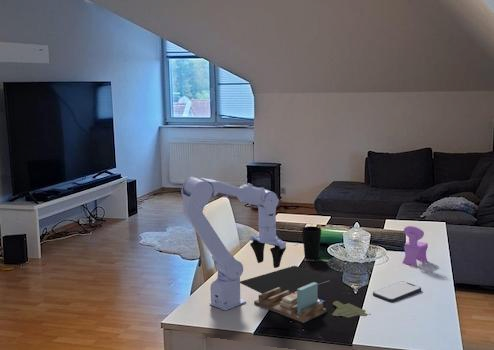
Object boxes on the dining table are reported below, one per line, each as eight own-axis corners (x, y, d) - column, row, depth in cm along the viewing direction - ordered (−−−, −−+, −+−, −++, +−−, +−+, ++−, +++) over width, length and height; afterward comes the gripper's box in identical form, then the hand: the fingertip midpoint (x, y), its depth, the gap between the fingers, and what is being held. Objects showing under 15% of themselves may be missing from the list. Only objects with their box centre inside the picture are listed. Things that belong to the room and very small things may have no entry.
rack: (303, 322, 173) (303, 313, 173) (254, 303, 188) (254, 295, 188) (326, 311, 181) (326, 302, 180) (277, 294, 196) (277, 286, 195)
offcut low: (290, 309, 181) (290, 305, 181) (279, 305, 184) (279, 301, 184) (302, 303, 185) (302, 300, 185) (292, 300, 188) (292, 296, 188)
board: (301, 315, 176) (300, 290, 175) (297, 313, 178) (297, 289, 176) (317, 307, 182) (317, 283, 181) (313, 306, 183) (313, 282, 182)
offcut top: (290, 304, 182) (290, 300, 181) (282, 301, 184) (282, 297, 184) (300, 299, 185) (300, 296, 185) (292, 296, 188) (292, 293, 187)
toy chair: (430, 261, 226) (431, 224, 223) (419, 267, 220) (420, 229, 217) (410, 257, 232) (411, 220, 229) (399, 262, 225) (400, 225, 223)
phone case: (391, 304, 187) (423, 292, 196) (391, 300, 187) (423, 287, 196) (370, 296, 194) (402, 284, 203) (370, 292, 194) (402, 280, 203)
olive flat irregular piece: (360, 329, 169) (360, 326, 168) (318, 310, 183) (318, 307, 183) (385, 320, 175) (385, 316, 175) (342, 301, 189) (342, 298, 189)
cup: (316, 261, 228) (316, 232, 226) (298, 258, 232) (298, 229, 230) (324, 256, 235) (324, 227, 232) (307, 253, 239) (307, 225, 236)
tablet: (295, 265, 224) (331, 279, 208) (295, 267, 224) (331, 281, 208) (238, 282, 208) (273, 298, 192) (238, 283, 208) (273, 300, 192)
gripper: (291, 226, 190) (292, 266, 192) (260, 219, 200) (261, 257, 202) (277, 231, 185) (278, 271, 187) (245, 223, 195) (246, 262, 198)
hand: (268, 264), depth 195 cm, fingers open, 7 cm apart
